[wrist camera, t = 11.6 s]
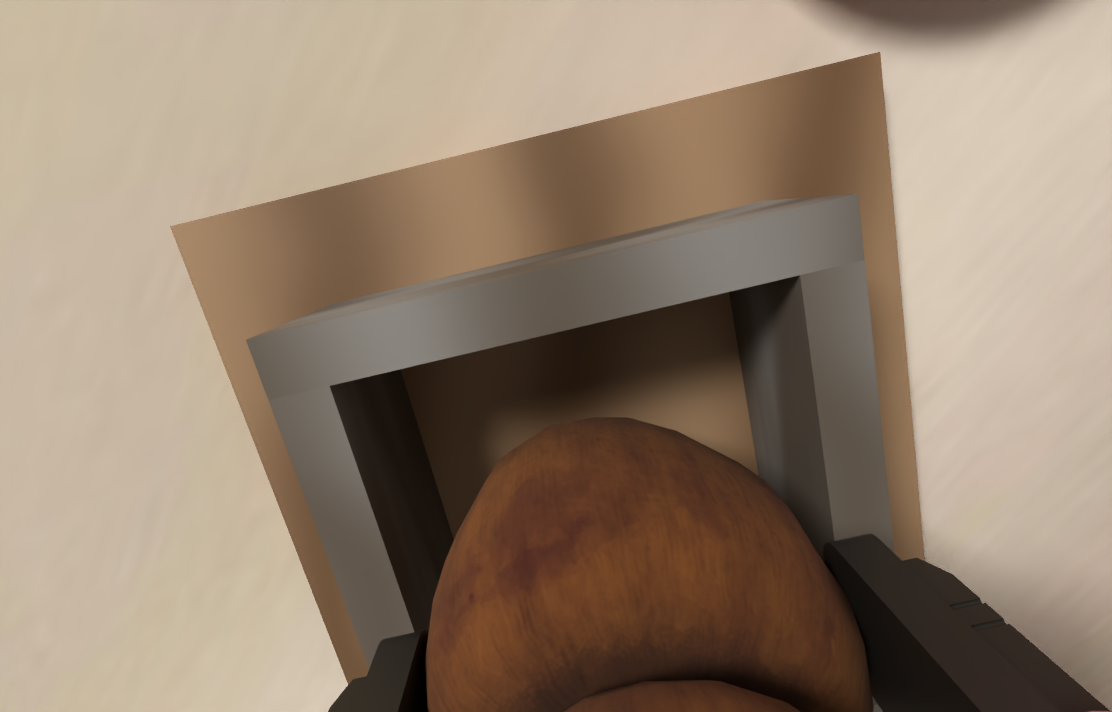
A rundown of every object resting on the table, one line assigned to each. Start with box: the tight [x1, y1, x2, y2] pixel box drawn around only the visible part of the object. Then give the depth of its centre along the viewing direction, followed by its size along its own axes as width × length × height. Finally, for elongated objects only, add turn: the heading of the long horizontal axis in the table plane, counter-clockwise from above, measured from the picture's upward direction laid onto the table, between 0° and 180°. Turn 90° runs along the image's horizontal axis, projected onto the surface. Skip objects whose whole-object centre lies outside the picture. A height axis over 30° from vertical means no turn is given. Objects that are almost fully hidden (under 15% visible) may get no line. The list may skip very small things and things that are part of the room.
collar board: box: [170, 52, 925, 712], centre depth 15 cm, size 18×18×6 cm
